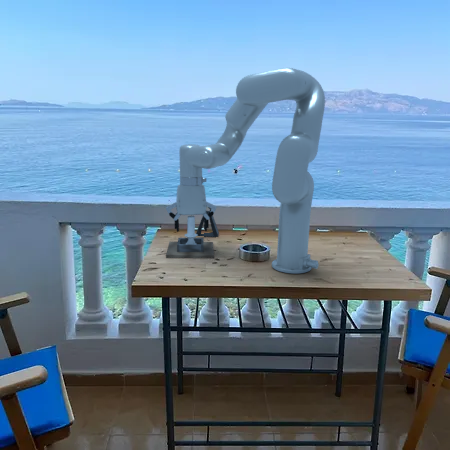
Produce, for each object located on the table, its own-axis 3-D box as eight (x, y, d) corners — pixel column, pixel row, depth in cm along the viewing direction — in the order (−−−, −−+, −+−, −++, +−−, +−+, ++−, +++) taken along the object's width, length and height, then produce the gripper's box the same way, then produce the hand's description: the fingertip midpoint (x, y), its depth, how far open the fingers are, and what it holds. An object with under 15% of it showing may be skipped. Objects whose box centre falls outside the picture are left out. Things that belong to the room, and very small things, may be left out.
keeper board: (212, 244, 169) (213, 235, 168) (213, 258, 153) (214, 248, 152) (169, 244, 168) (169, 234, 167) (165, 258, 153) (165, 247, 152)
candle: (191, 245, 164) (191, 212, 161) (201, 248, 161) (202, 215, 158) (180, 248, 160) (180, 214, 157) (190, 251, 157) (190, 217, 154)
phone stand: (218, 233, 184) (219, 204, 181) (218, 237, 178) (218, 207, 175) (196, 232, 184) (196, 203, 181) (195, 236, 178) (195, 206, 175)
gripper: (215, 179, 159) (215, 227, 163) (165, 180, 157) (166, 228, 161) (217, 183, 152) (217, 232, 156) (165, 183, 150) (166, 234, 154)
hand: (191, 230), depth 159 cm, fingers open, 9 cm apart
